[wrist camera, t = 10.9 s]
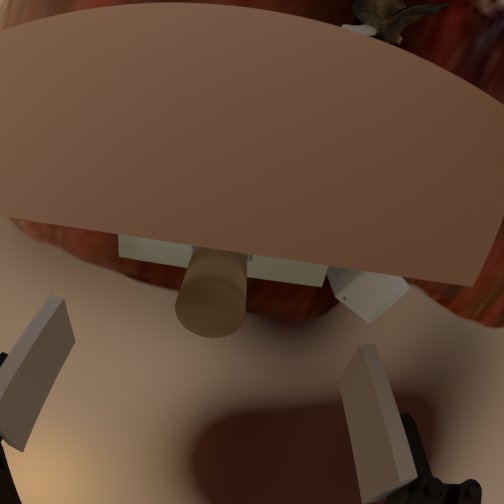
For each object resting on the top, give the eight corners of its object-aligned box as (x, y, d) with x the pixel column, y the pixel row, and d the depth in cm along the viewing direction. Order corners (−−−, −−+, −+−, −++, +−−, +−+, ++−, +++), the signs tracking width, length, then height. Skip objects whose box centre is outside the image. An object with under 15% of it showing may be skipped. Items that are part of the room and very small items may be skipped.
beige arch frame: (123, 59, 18) (-25, 40, 5) (380, 99, 19) (528, 124, 6) (113, 141, 21) (-26, 212, 8) (360, 179, 22) (472, 287, 9)
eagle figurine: (416, 92, 21) (453, 17, 16) (408, 78, 16) (453, -16, 10) (343, 54, 23) (378, -17, 18) (313, 33, 18) (356, -52, 12)
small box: (356, 297, 32) (368, 326, 28) (322, 268, 31) (333, 297, 26) (394, 263, 30) (413, 289, 26) (363, 230, 29) (381, 254, 24)
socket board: (145, 68, 21) (128, 65, 18) (356, 101, 23) (373, 103, 19) (133, 237, 29) (118, 256, 25) (314, 264, 30) (321, 287, 27)
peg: (211, 190, 27) (176, 277, 14) (251, 196, 27) (251, 288, 15) (206, 227, 28) (174, 332, 16) (245, 233, 29) (240, 341, 16)
